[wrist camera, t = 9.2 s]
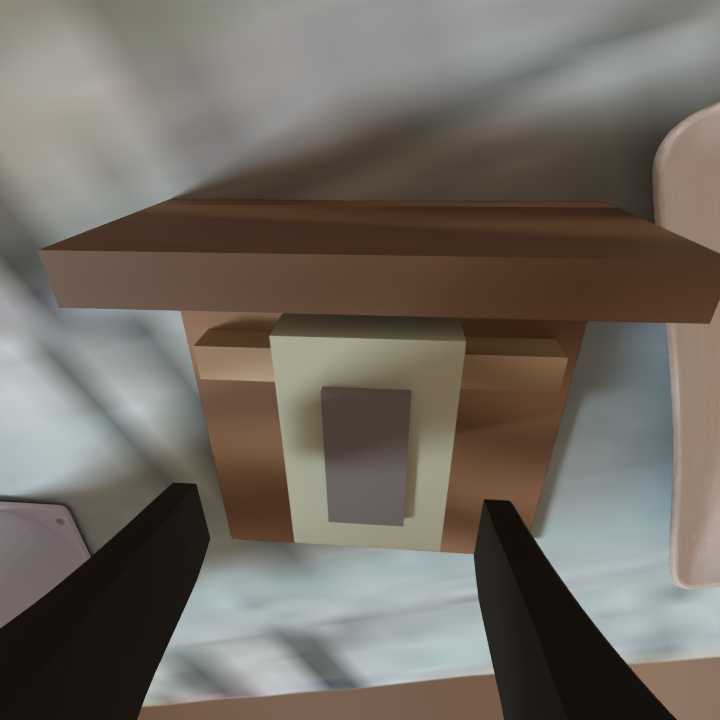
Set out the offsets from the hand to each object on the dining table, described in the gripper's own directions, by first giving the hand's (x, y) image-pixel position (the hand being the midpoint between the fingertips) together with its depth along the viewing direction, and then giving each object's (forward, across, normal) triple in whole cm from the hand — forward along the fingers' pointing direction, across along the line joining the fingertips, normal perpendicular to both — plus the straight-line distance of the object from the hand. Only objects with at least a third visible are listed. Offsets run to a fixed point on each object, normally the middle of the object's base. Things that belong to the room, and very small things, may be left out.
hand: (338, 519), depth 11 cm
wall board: (+9, -1, +3) cm, 10 cm away
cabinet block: (+8, -1, 0) cm, 8 cm away
